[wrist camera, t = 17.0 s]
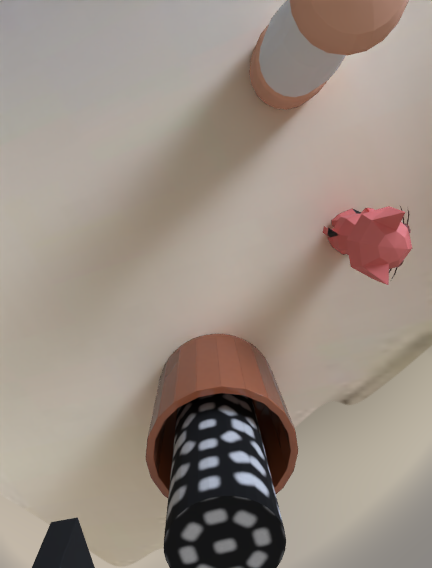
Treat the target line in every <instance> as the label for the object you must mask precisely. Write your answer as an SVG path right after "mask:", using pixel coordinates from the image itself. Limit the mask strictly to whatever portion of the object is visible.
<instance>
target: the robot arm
mask: <svg viewBox="0 0 432 568" xmlns="http://www.w3.org/2000/svg"><path fill="white" fill-rule="evenodd" d="M32 568H95V567H94V564H93V562H92V559H91V556H90V553H89V550H88V547H87V544H86V541H85V538H84V535H83V532H82V529H81V526H80V523H79V520H78V518H73V519H67V520H61V521H56V522H51V524H50V526H49V529H48V531H47V534H46V536H45V538H44V540H43V543H42V545H41V548H40V550H39V552H38V555H37V557H36V559H35V562H34V564H33V566H32Z"/></svg>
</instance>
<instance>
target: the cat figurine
mask: <svg viewBox="0 0 432 568" xmlns="http://www.w3.org/2000/svg"><path fill="white" fill-rule="evenodd" d="M400 207H401V206H400ZM401 210H402V209H401ZM401 210H398V209H395V208H392V207H389V206H388V207H385V208H381V209H378V210H374V209H371V208H365V209H364V210H363V211H362V212H359V211H356V210H354V209H350V210H347V211H345V212H343V213H340V214H338V215H337V216H336V217H335V218H334V219H333V220H332V226H334V229H330V228H326V227H325V226H324V229H323V233H324V234H326V235H327V236H329V238H328V240H329V242H330V244H331V245H332V247H333V248H335V249H336V250H337V251H339V252H340V253H341V254H343V255H345V254H347V255H349V259H350V265H351V267H352V268H354V269H356V270H358V271H359V272H361V273H363V274H365V275H367V276H368V277H370V278H372V279H374V280H377V281H379V282H382V283H384V284H386V285H388V281H389V272H390V271H391V269H392V268H395V267H399V266H400V265H402V263H403V260H404V259H405V257H406V256H407V255H408V253H409V252H410V251H411V249H412V245H411V240H410V236H409V233H410V228H409V226H408V220H407V224H404V217H403V216H404V214H405V212H404V211H401ZM402 218H403V223H402V222H401V220H402ZM408 219H409V211H408ZM389 269H390V271H389ZM396 270H397V268H396ZM396 270H395V273H396ZM395 273H394V275H395ZM393 277H394V276H393ZM393 277H392V278H393ZM391 280H392V279H391Z"/></svg>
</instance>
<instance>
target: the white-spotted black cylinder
mask: <svg viewBox="0 0 432 568" xmlns="http://www.w3.org/2000/svg"><path fill="white" fill-rule="evenodd" d="M285 546H286V537H285V531H284V527H283V523H282V519H281V515H280V510H279V506H278V502H277V498H276V494H275V490H274V486H273V482H272V478H271V474H270V470H269V466H268V461H267V457H266V453H265V449H264V445H263V441H262V437H261V433H260V429H259V425H258V421H257V417H256V412H255V408H254V404H253V400H252V399H251V398H249V397H246V396H244V395H235V394H225V393H219V394H214V395H208V396H203V397H198V398H196V399H194V400H192V401H190V402H188V403H186V404H184V405H182V406H180V407H179V408H178V409H177V416H176V426H175V436H174V446H173V456H172V466H171V476H170V487H169V497H168V507H167V517H166V527H165V537H164V554H165V558H166V561H167V563H168V565H169V567H170V568H277V566H278V565H279V563H280V561H281V560H282V557H283V555H284V551H285Z"/></svg>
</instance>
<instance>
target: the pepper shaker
mask: <svg viewBox="0 0 432 568" xmlns="http://www.w3.org/2000/svg"><path fill="white" fill-rule="evenodd" d="M408 1H409V0H287V1H286V2H285V3H284V4H283V5H282V6H281V7H280V8H279V10H278V11H277V12H276V13H275V15H274V16H273V17H272V18H271V21H270V23H269V24H268V26H267V27H266V28H265V29H264V31H263V32H262V33H261V35H260V37H259V40H258V42H257V45H256V47H255V49H254V52H253V54H252V57H251V60H250V70H249V73H250V78H251V84H252V86H253V88H254V90H255V92H256V94H257V95H258V96H259V97H260V98H261V99H262V100H263V101H264V102H265V103H266V104H268V105H270V106H272V107H274V108H277V109H286V110H287V109H291V108H295V107H298V106H300V105H301V104H303V103H305V102H306V101H308V100H309V99H310V98H312V97H313V96H314V95H316V94H317V93H318V92H319V91H320V89H321V88H322V87H323V86H324V85H325V84H326V82H327V80H329V78H330V77H331V76H332V75H333V74H334V73H335V71H336V70H337V69H338V67H339V66H340V64H341V62H342V61H343V59H344V57H345V56H346V55H351V54H355V53H359V52H363V51H367V50H368V49H370V48H372V47H373V46H375V45H376V44H378V43H380V42H381V41H383V40H384V39H385V38H386V36H387V35H388V34H389V33H390V32H391V31H392V30H393V28H394V27H395V26H396V25H397V24H398V22H399V20H400V18H401V16H402V14H403V12H404V10H405V8H406V6H407V4H408Z"/></svg>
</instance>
